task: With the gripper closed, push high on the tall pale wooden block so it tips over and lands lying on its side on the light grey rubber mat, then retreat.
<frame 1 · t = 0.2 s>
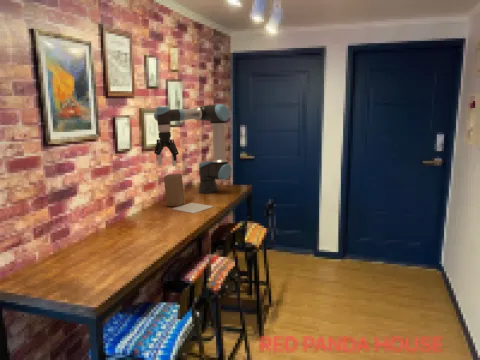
hand: (167, 165, 234), 28 cm above the table, fingers open, 13 cm apart
wooden block: (176, 205, 246), on the table, touching mat
mat: (192, 208, 236), on the table
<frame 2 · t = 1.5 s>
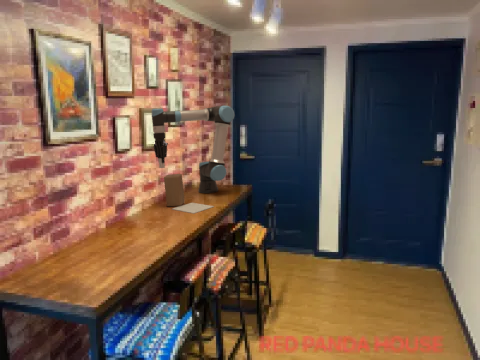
hand: (162, 167, 248), 24 cm above the table, fingers closed
nothing on the table moved.
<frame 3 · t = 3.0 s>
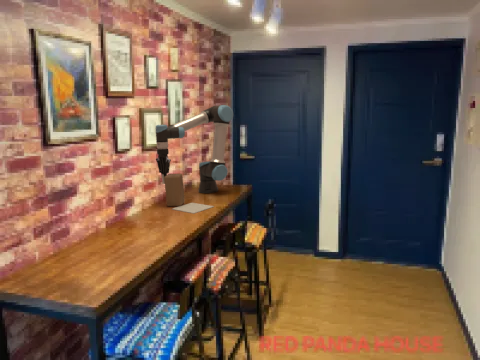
hand: (164, 183, 249), 14 cm above the table, fingers closed
wooden block: (175, 204, 246), on the table, touching gripper, mat
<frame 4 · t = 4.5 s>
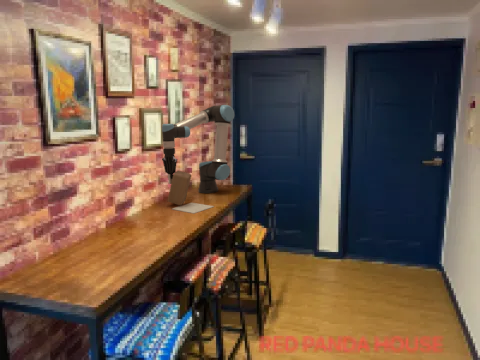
hand: (170, 183, 244), 14 cm above the table, fingers closed
wooden block: (176, 201, 245), point 2 cm above the table, touching mat
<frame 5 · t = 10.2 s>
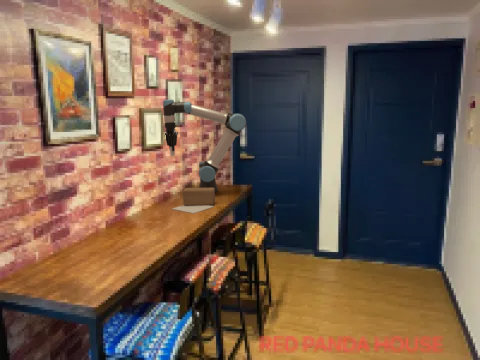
hand: (172, 155, 263), 30 cm above the table, fingers closed
wooden block: (183, 196, 244), point 6 cm above the table, touching mat
at the end: wooden block tilted 92°; wooden block inside the target area (9.9 cm from its centre), point 5.6 cm above the table; wooden block touching mat, table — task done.
